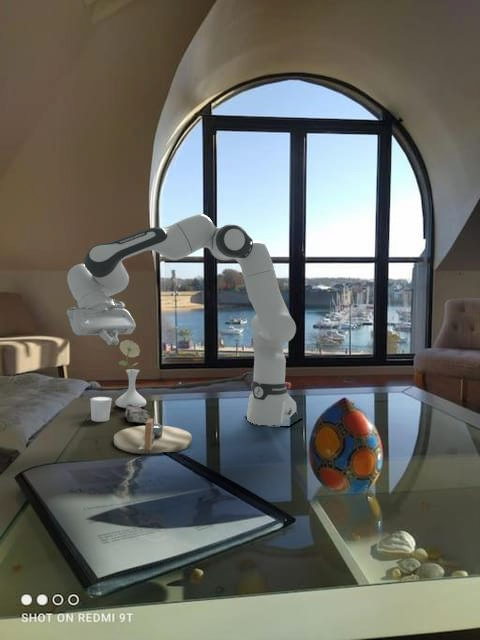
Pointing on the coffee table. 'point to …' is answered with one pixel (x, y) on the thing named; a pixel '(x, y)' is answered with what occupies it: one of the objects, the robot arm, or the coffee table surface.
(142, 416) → the mineral rock
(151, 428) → the grey pivot bar
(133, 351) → the flower in vase
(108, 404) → the white cylinder
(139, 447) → the stand
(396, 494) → the coffee table surface
